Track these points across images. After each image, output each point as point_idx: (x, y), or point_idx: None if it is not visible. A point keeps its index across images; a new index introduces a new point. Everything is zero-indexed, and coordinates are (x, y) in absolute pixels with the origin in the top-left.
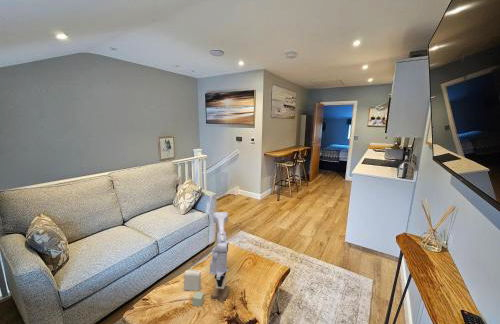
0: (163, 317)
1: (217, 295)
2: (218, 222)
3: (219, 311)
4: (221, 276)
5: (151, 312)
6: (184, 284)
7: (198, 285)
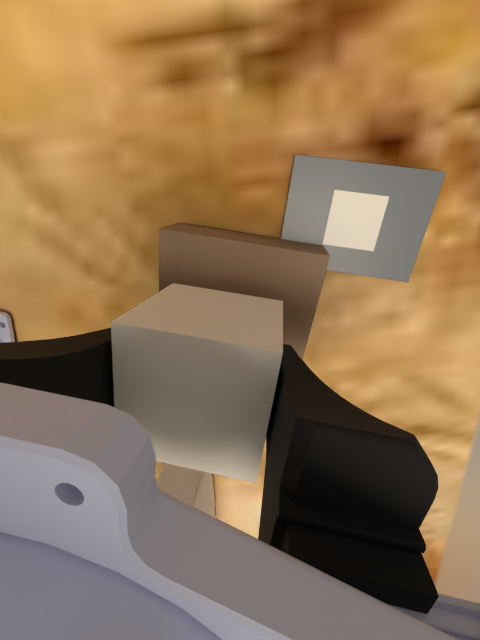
0: None
1: (300, 340)
2: None
3: (422, 288)
4: (339, 522)
5: None
6: None
7: (199, 495)
